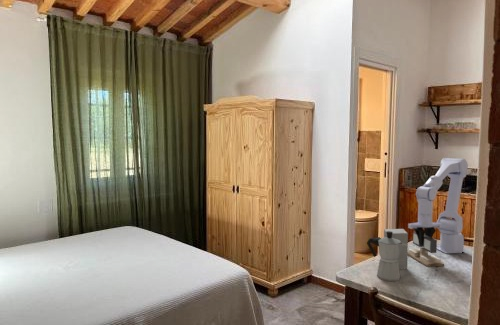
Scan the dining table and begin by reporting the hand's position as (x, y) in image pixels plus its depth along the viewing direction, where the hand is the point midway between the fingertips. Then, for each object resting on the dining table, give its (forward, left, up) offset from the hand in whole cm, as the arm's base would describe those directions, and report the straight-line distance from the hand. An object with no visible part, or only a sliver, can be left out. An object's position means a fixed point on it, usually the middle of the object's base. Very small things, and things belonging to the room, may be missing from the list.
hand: (424, 244), depth 165 cm
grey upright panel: (0, 0, -2) cm, 2 cm away
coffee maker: (+26, +16, -7) cm, 32 cm away
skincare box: (+17, +7, -7) cm, 20 cm away
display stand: (0, 0, -7) cm, 7 cm away
